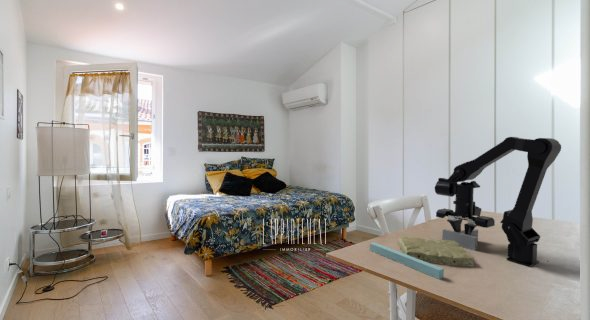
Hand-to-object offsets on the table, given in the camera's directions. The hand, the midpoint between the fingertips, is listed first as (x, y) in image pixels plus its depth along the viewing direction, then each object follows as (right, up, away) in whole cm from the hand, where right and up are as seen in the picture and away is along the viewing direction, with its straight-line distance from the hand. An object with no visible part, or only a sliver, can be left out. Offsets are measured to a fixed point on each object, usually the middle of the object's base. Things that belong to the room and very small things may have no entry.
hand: (462, 240), depth 110 cm
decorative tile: (-16, -3, -10) cm, 19 cm away
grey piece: (+2, -1, +1) cm, 3 cm away
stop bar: (-29, -2, -17) cm, 34 cm away
